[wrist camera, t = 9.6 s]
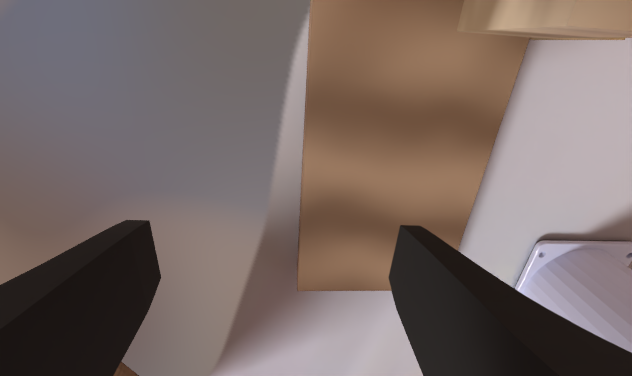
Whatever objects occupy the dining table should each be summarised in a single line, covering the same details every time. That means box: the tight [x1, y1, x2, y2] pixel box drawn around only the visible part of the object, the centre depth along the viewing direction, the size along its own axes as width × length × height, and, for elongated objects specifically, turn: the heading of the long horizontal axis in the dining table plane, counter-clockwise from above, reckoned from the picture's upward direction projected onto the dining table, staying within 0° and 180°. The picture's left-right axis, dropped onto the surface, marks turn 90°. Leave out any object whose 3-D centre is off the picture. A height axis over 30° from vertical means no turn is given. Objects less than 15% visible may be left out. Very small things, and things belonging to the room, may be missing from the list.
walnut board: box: [297, 0, 530, 291], centre depth 16 cm, size 22×10×2 cm, turn 176°
